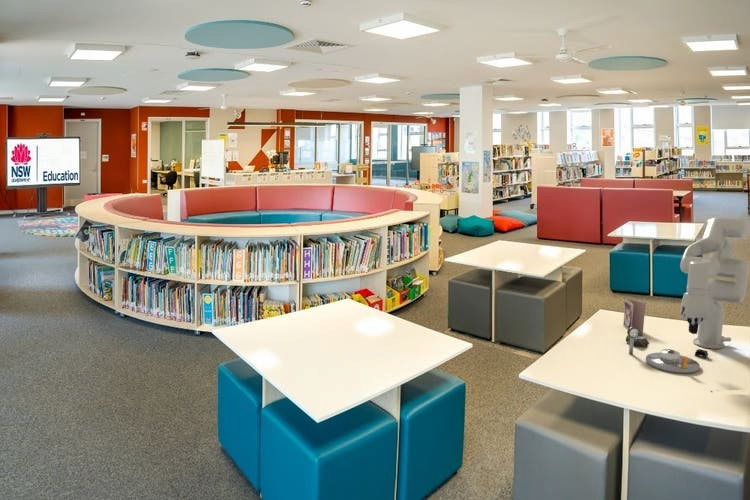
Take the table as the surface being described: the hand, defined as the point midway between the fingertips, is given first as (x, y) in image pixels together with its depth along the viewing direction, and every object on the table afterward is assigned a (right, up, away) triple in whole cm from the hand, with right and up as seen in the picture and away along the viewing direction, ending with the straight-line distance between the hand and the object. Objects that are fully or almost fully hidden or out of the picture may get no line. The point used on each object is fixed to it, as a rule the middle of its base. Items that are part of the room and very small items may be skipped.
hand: (692, 332), depth 229 cm
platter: (-8, -14, +1) cm, 16 cm away
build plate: (+10, -14, +11) cm, 20 cm away
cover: (-9, -12, +1) cm, 15 cm away
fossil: (-10, -11, +27) cm, 31 cm away
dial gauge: (-18, -13, +14) cm, 26 cm away
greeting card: (-1, -6, +51) cm, 52 cm away
